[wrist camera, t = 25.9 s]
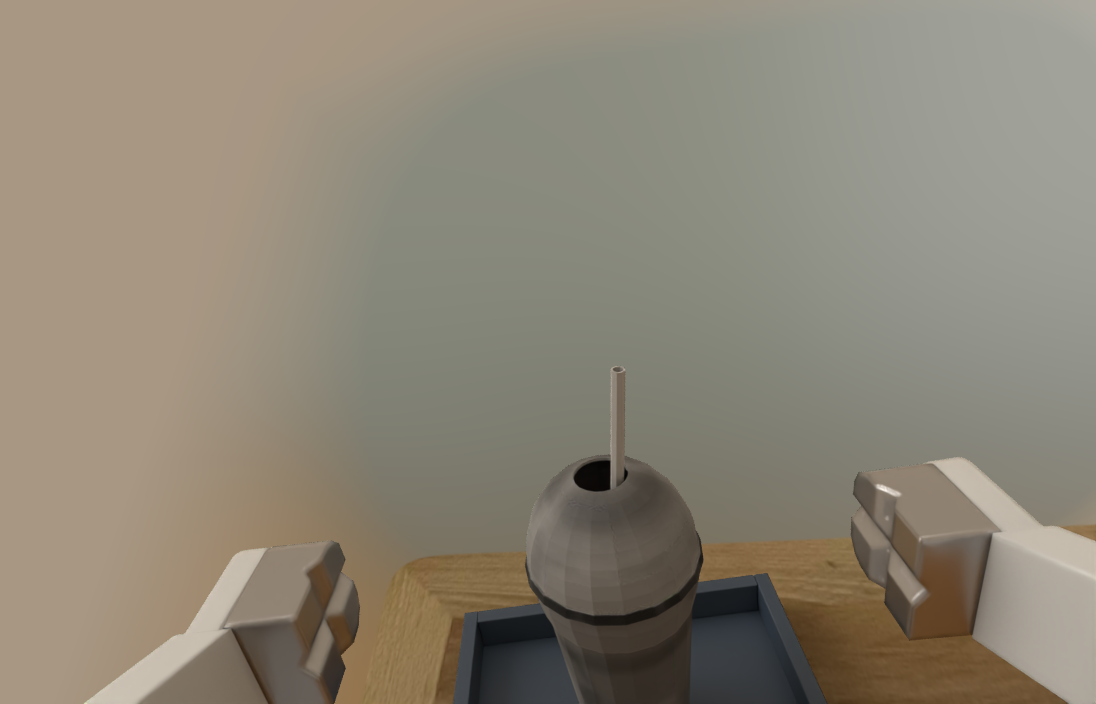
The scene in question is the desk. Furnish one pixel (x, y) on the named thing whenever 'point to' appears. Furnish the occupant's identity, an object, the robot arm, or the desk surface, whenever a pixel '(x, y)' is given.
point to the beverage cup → (617, 573)
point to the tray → (716, 652)
